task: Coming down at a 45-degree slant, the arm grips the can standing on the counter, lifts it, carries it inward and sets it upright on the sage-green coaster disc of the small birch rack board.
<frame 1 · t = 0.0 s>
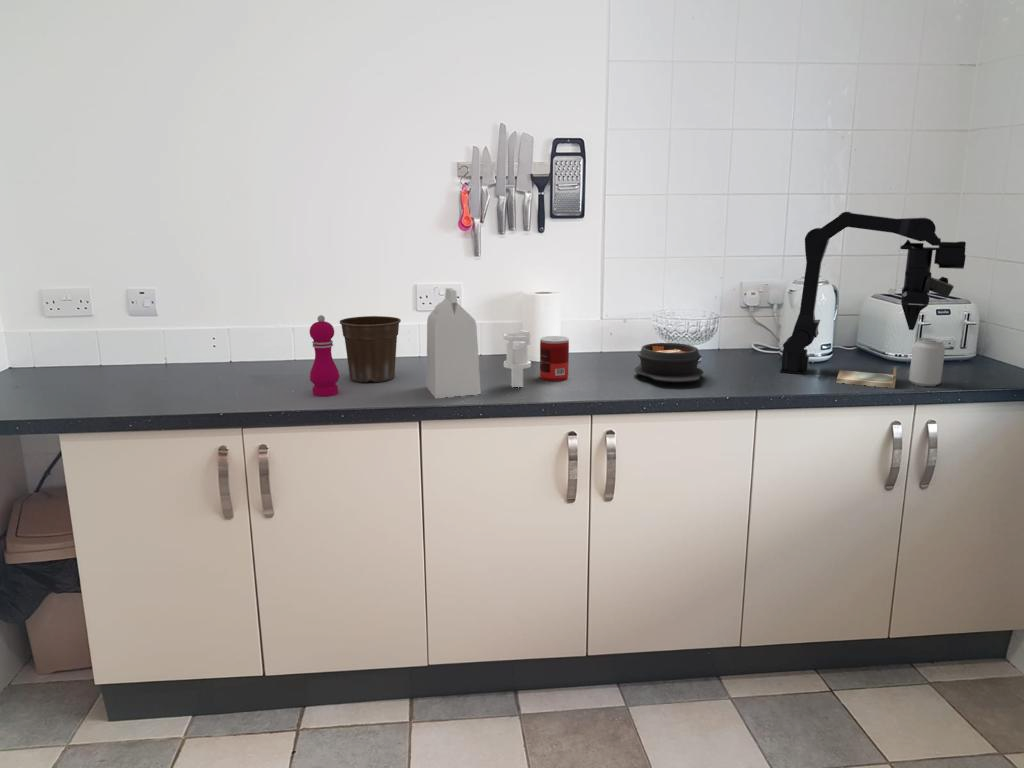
hand: (911, 327, 208), 15 cm above the counter, tool pointing down, fingers open, 9 cm apart
plant pot: (372, 378, 218), on the counter
can: (924, 384, 209), on the counter
canned food: (554, 378, 217), on the counter
rack board: (865, 381, 212), on the counter
pepper mill: (325, 394, 201), on the counter
casserole: (668, 378, 217), on the counter
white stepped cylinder: (517, 387, 208), on the counter
milk: (453, 391, 204), on the counter
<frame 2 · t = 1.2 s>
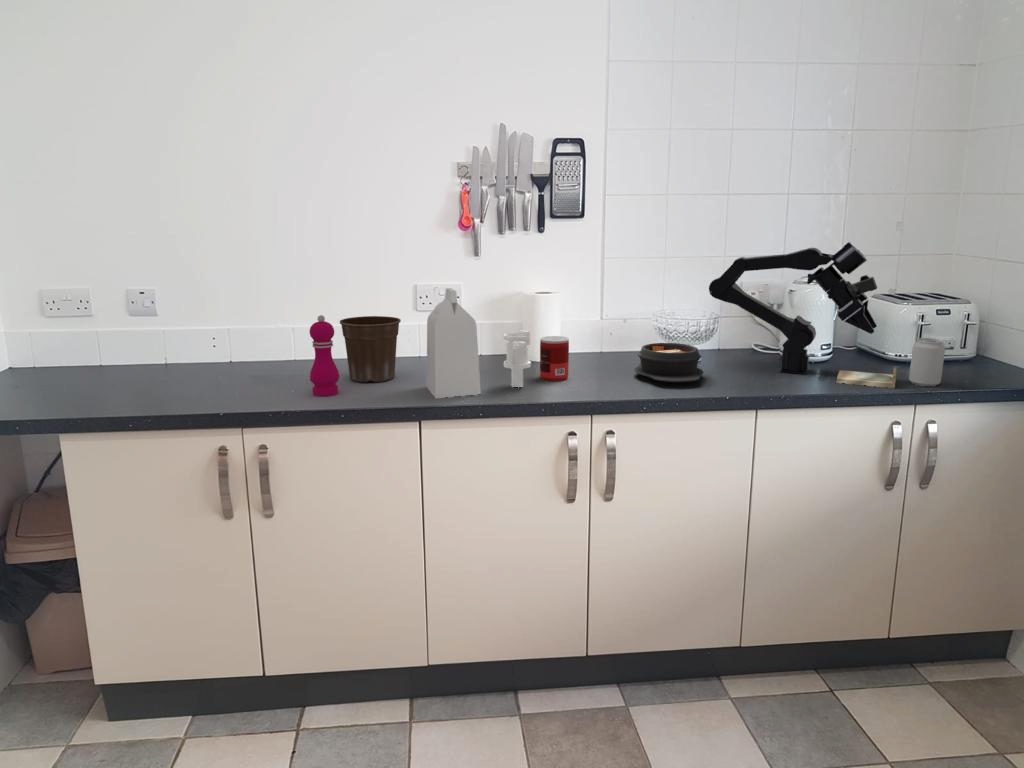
hand: (874, 330, 212), 13 cm above the counter, tool tilted 45°, fingers open, 9 cm apart
nothing on the counter moved.
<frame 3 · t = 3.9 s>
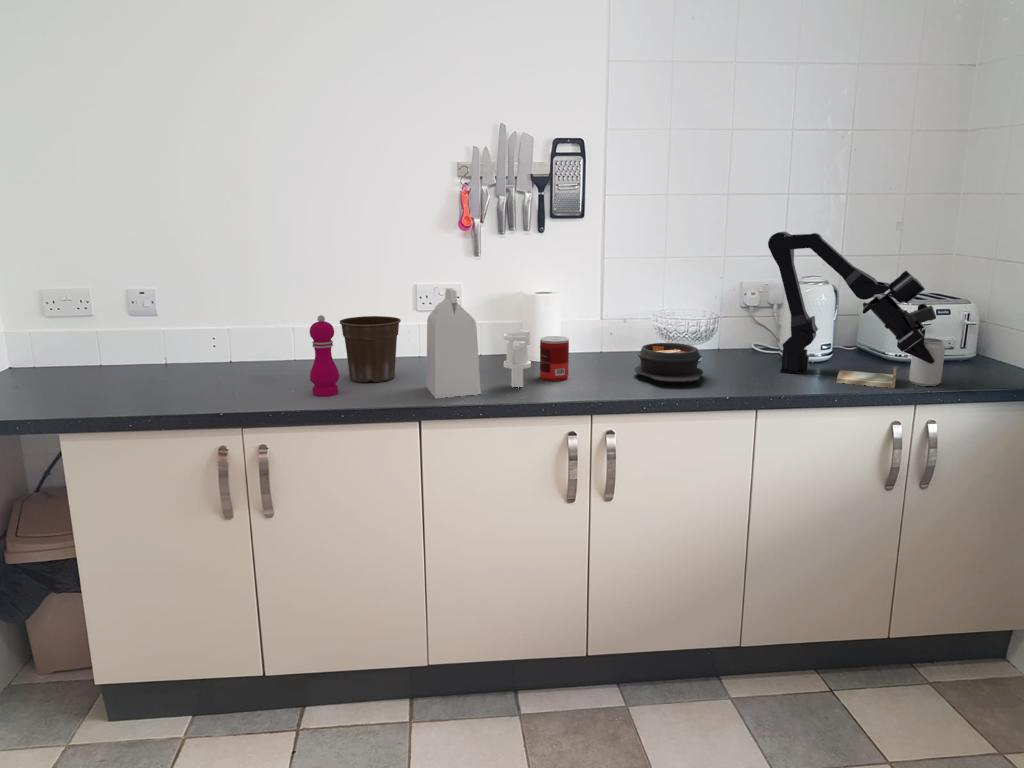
hand: (933, 359, 207), 7 cm above the counter, tool tilted 45°, fingers closed on can, 7 cm apart
can: (924, 384, 209), on the counter, touching gripper
everything else where it was.
when the fingers open (9 cm above the counter, at t = 7.4 s): can stays where it is, resting on rack board.
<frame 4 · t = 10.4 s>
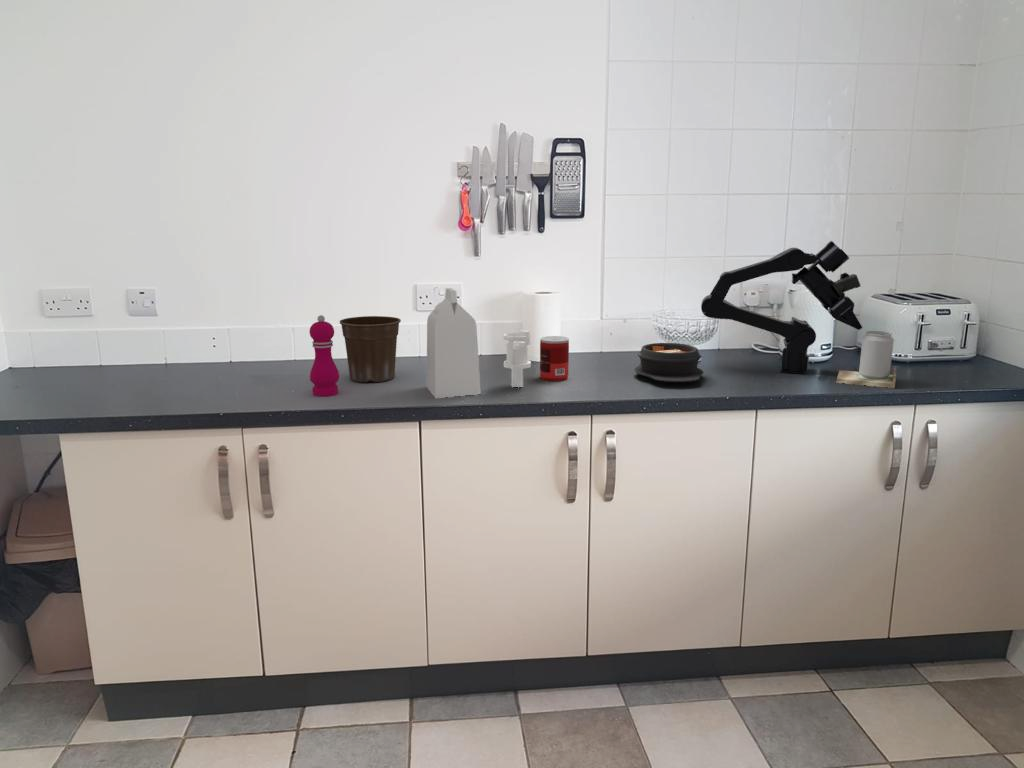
hand: (857, 325, 217), 14 cm above the counter, tool tilted 45°, fingers open, 9 cm apart
can: (873, 377, 211), point 1 cm above the counter, touching rack board
everything else where it was.
at the end: can 0.2 cm from the target spot on the rack board, point 1.2 cm above the rack board's base; can tilted 0°; the gripper is holding nothing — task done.
